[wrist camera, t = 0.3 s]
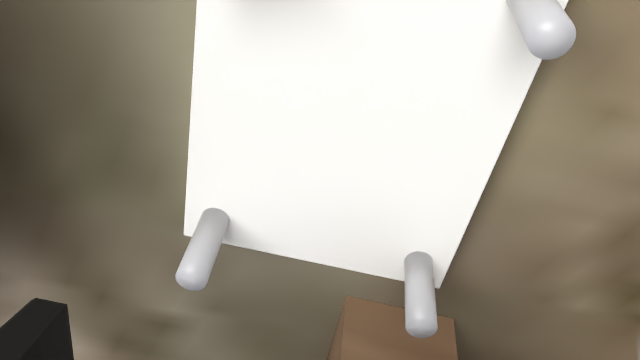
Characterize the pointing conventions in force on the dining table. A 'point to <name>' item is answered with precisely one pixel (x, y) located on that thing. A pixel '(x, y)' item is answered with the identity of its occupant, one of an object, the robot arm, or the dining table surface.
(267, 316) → the dining table surface
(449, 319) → the walnut block
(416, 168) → the standoff plate
